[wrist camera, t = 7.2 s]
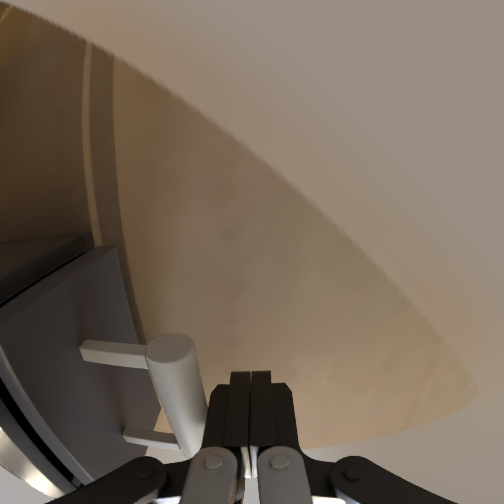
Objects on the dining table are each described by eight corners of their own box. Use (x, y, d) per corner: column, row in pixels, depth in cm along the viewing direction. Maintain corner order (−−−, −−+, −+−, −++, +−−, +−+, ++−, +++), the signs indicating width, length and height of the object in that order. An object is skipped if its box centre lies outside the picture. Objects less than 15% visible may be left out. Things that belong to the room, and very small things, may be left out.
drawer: (208, 239, 12) (135, 356, 4) (230, 411, 15) (219, 527, 7) (-18, 255, 12) (-95, 297, 5) (28, 378, 15) (-20, 437, 8)
